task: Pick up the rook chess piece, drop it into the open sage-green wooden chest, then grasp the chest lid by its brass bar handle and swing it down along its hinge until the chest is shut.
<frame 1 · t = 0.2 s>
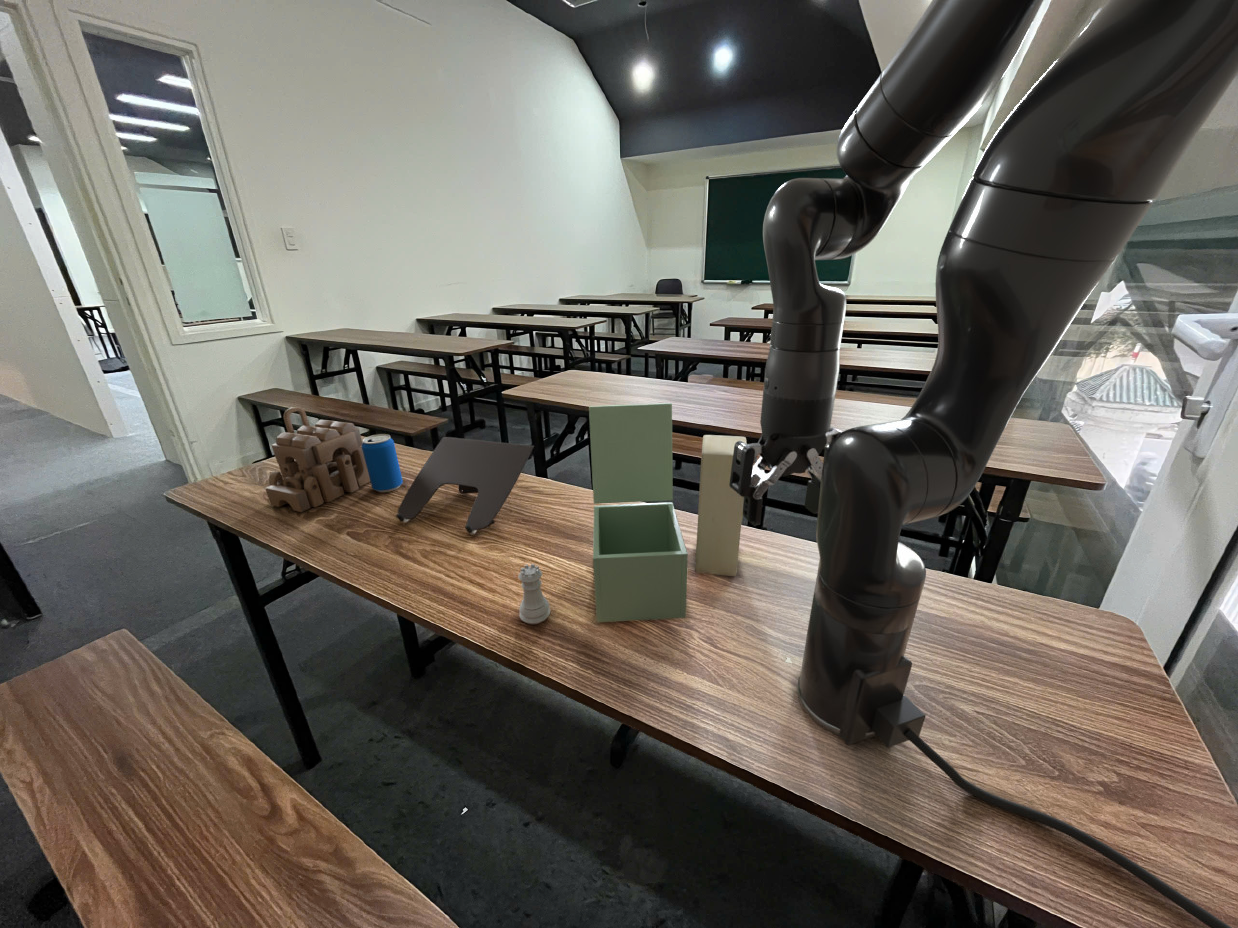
hand: (783, 516, 59), 17 cm above the table, tool pointing down, fingers open, 8 cm apart
rook chess piece: (535, 616, 69), on the table
wooden puzzle: (330, 487, 111), on the table
laptop tray: (466, 507, 100), on the table
beverage can: (388, 488, 110), on the table
toy refrigerator: (718, 562, 80), on the table
lid: (631, 451, 77), point 18 cm above the table, hinge at 100.0°
chest: (637, 587, 74), on the table
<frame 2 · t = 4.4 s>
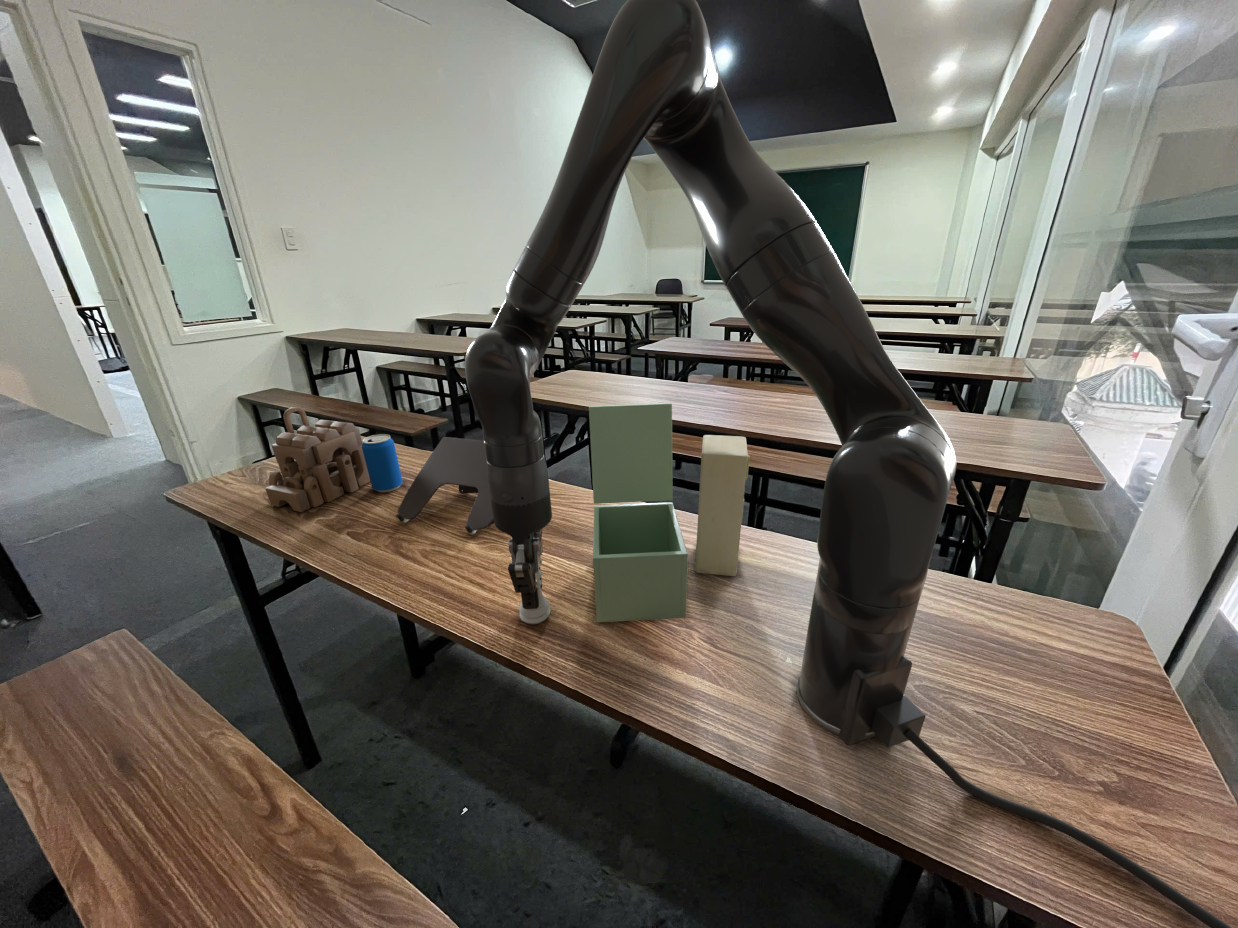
hand: (533, 597, 68), 3 cm above the table, tool pointing down, fingers closed on rook chess piece, 3 cm apart
rook chess piece: (535, 616, 69), on the table, touching gripper
everything else where it was.
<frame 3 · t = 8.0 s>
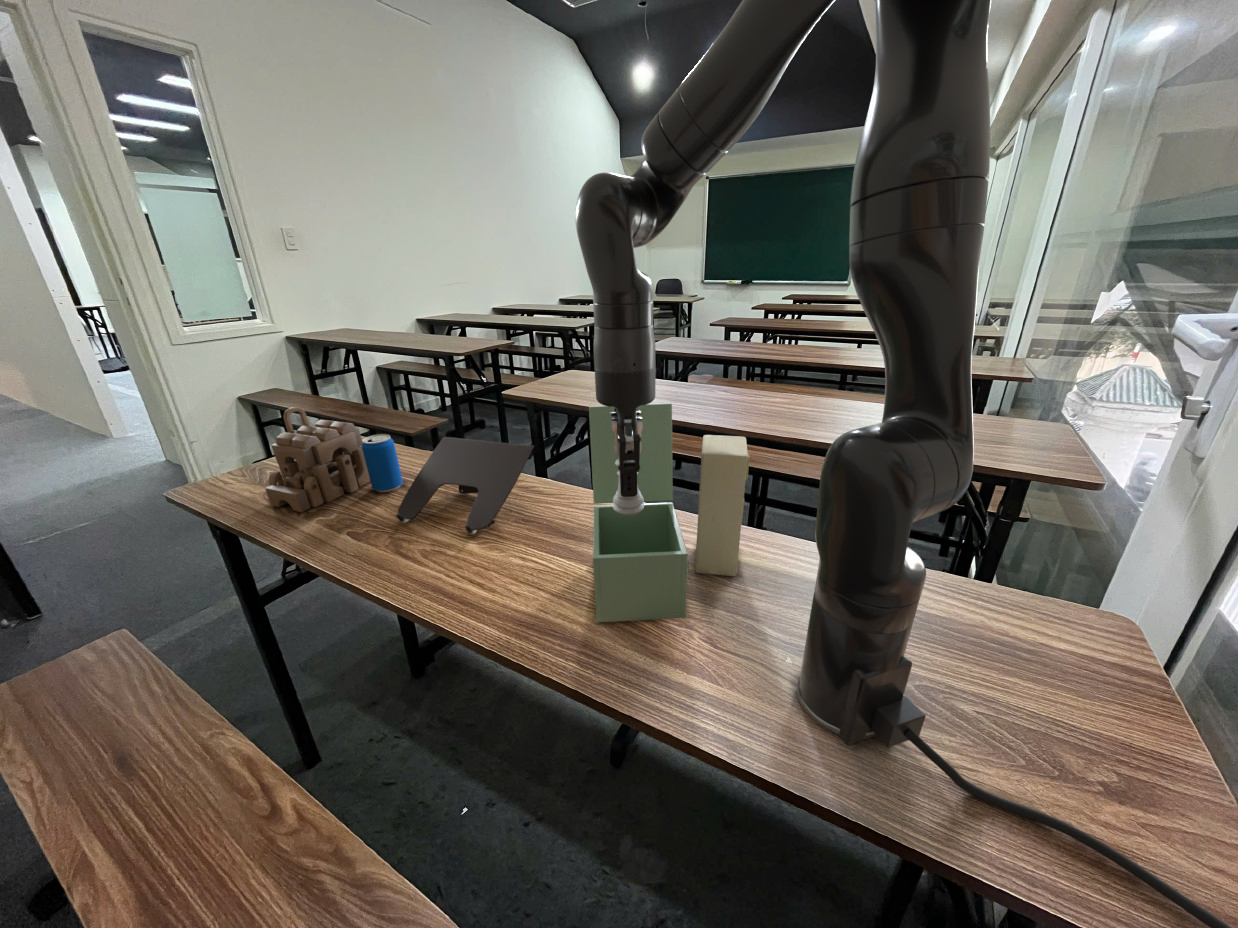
hand: (628, 488, 66), 18 cm above the table, tool pointing down, fingers closed on rook chess piece, 3 cm apart
rook chess piece: (628, 509, 67), point 15 cm above the table, touching gripper
everything else where it was.
when the fingers open (5 cm above the table, at t = 11.5 s): rook chess piece drops 1 cm, resting on chest.
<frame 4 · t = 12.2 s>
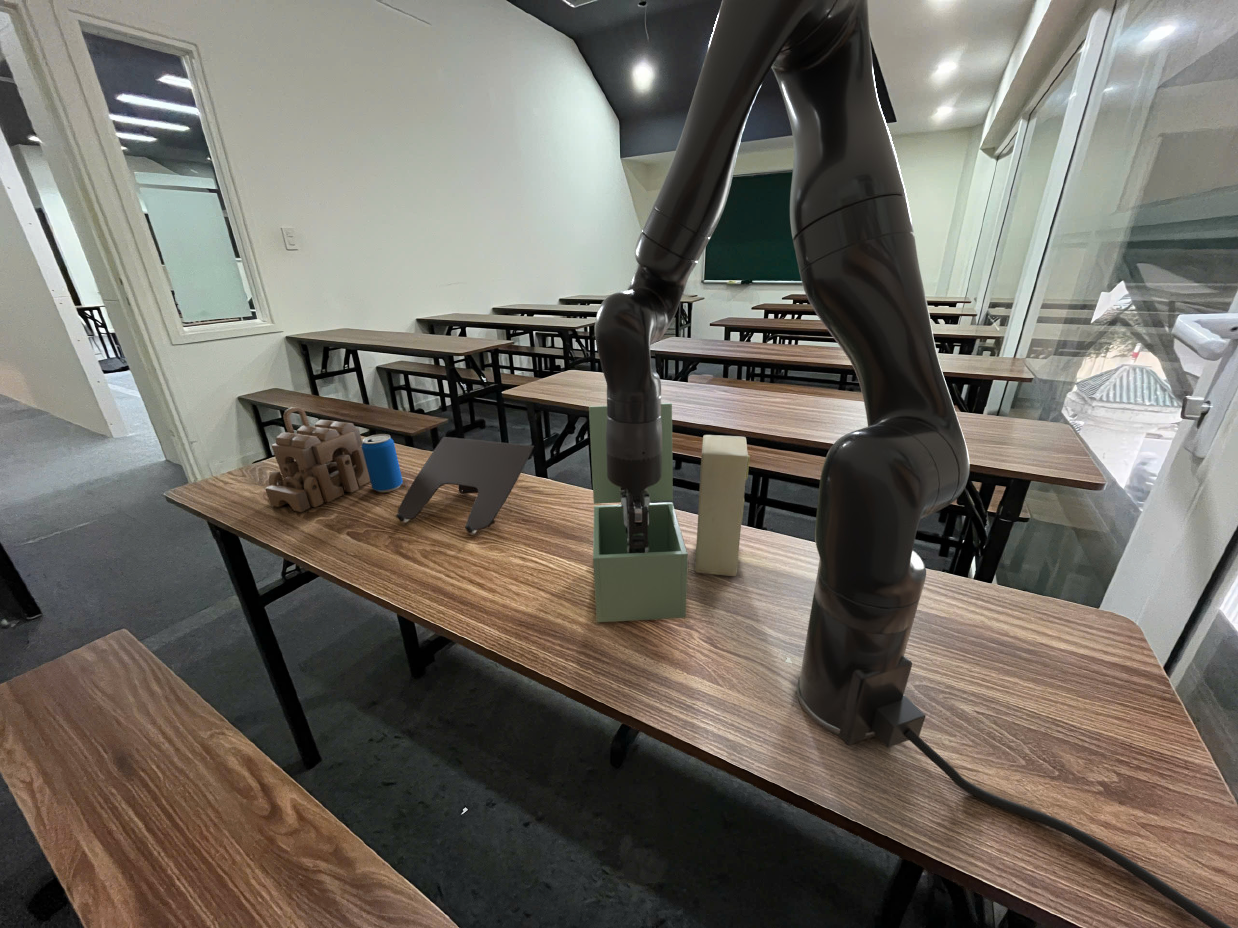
hand: (634, 547, 71), 7 cm above the table, tool pointing down, fingers open, 8 cm apart
rook chess piece: (638, 588, 73), point 1 cm above the table, touching chest
everything else where it was.
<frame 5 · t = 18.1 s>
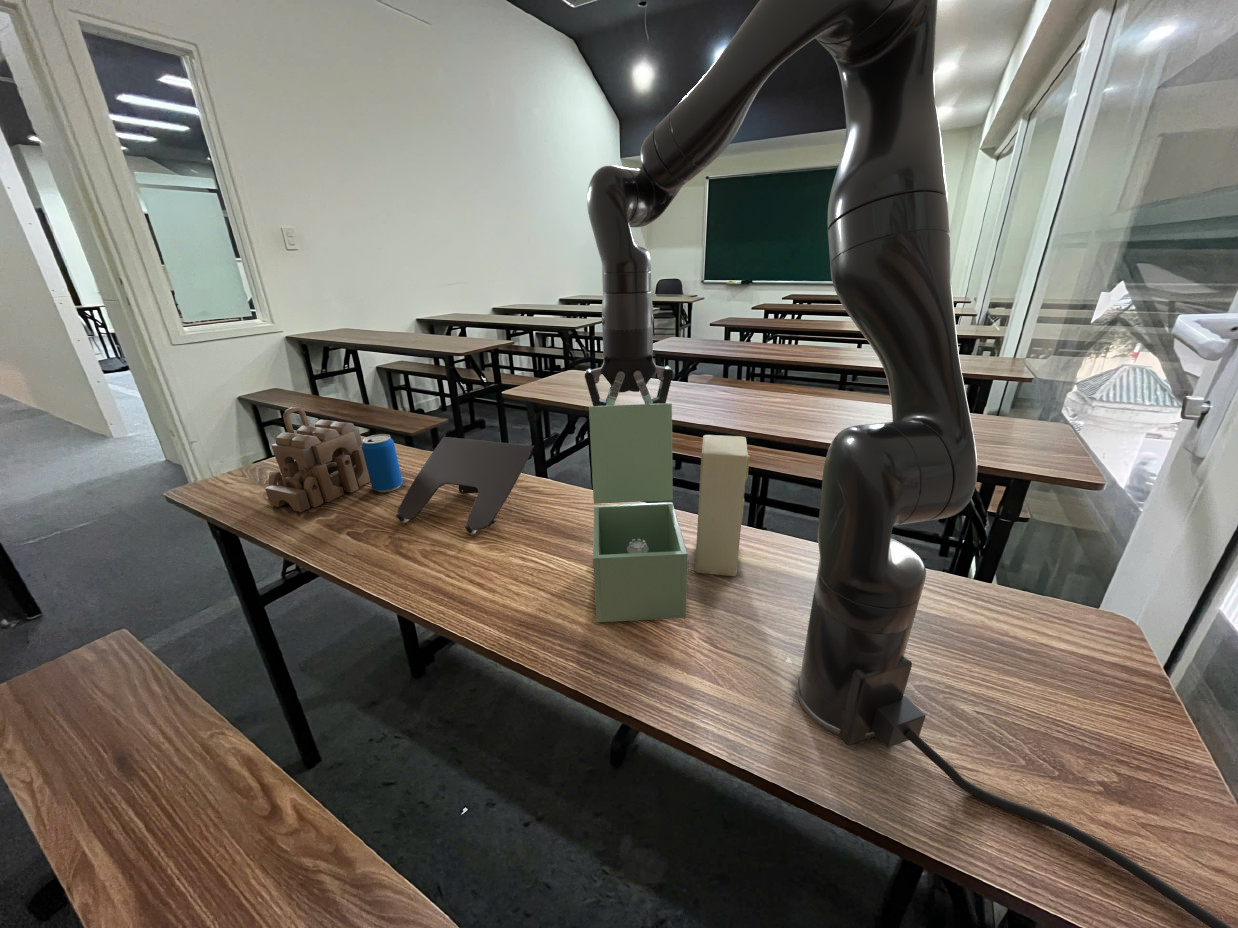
hand: (629, 431, 78), 21 cm above the table, tool pointing down, fingers closed on lid, 5 cm apart
lid: (631, 451, 77), point 18 cm above the table, hinge at 100.0°, touching gripper
everything else where it was.
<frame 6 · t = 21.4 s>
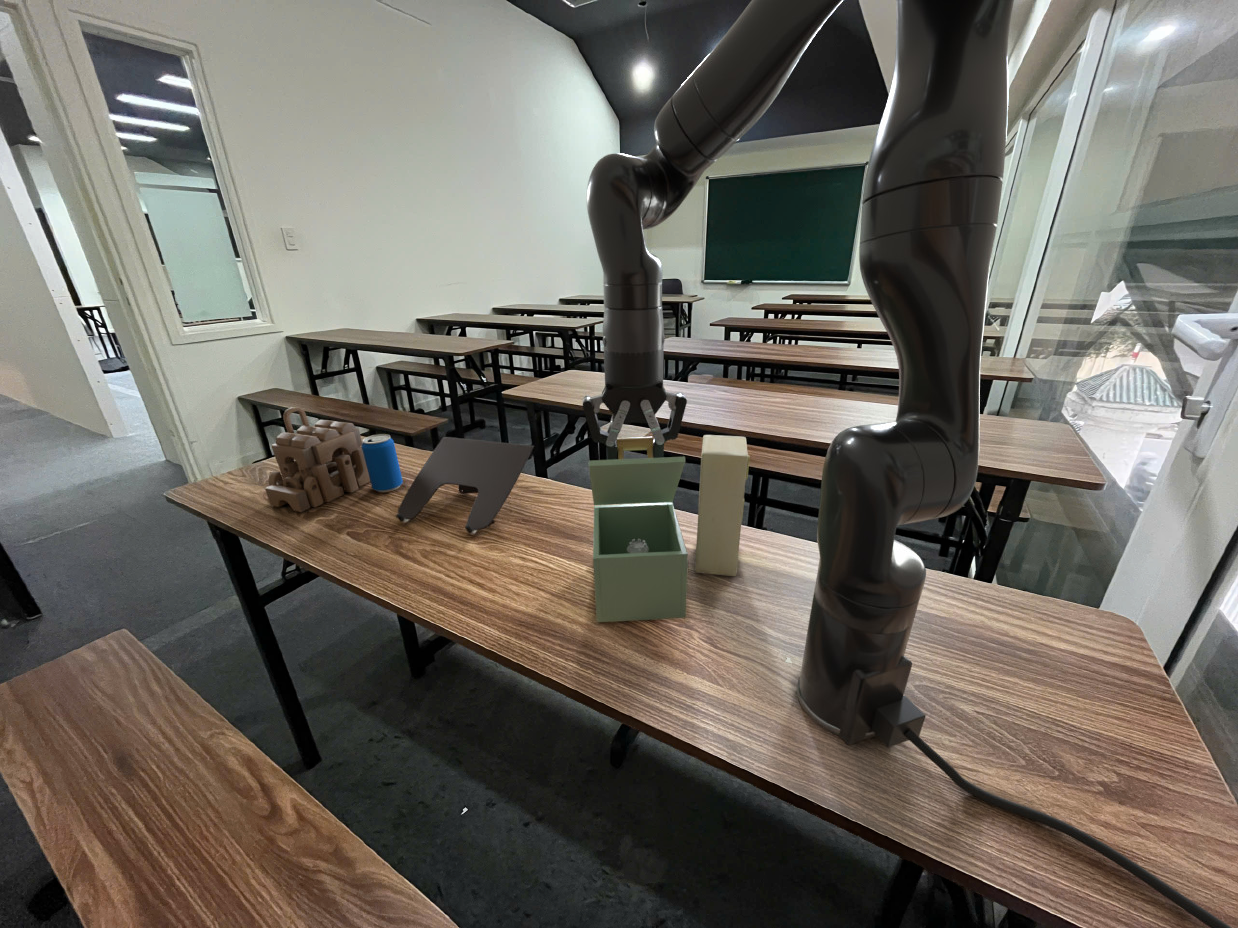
hand: (635, 467, 67), 20 cm above the table, tool pointing down, fingers closed on lid, 5 cm apart
lid: (634, 470, 70), point 18 cm above the table, hinge at 47.8°, touching gripper
everything else where it was.
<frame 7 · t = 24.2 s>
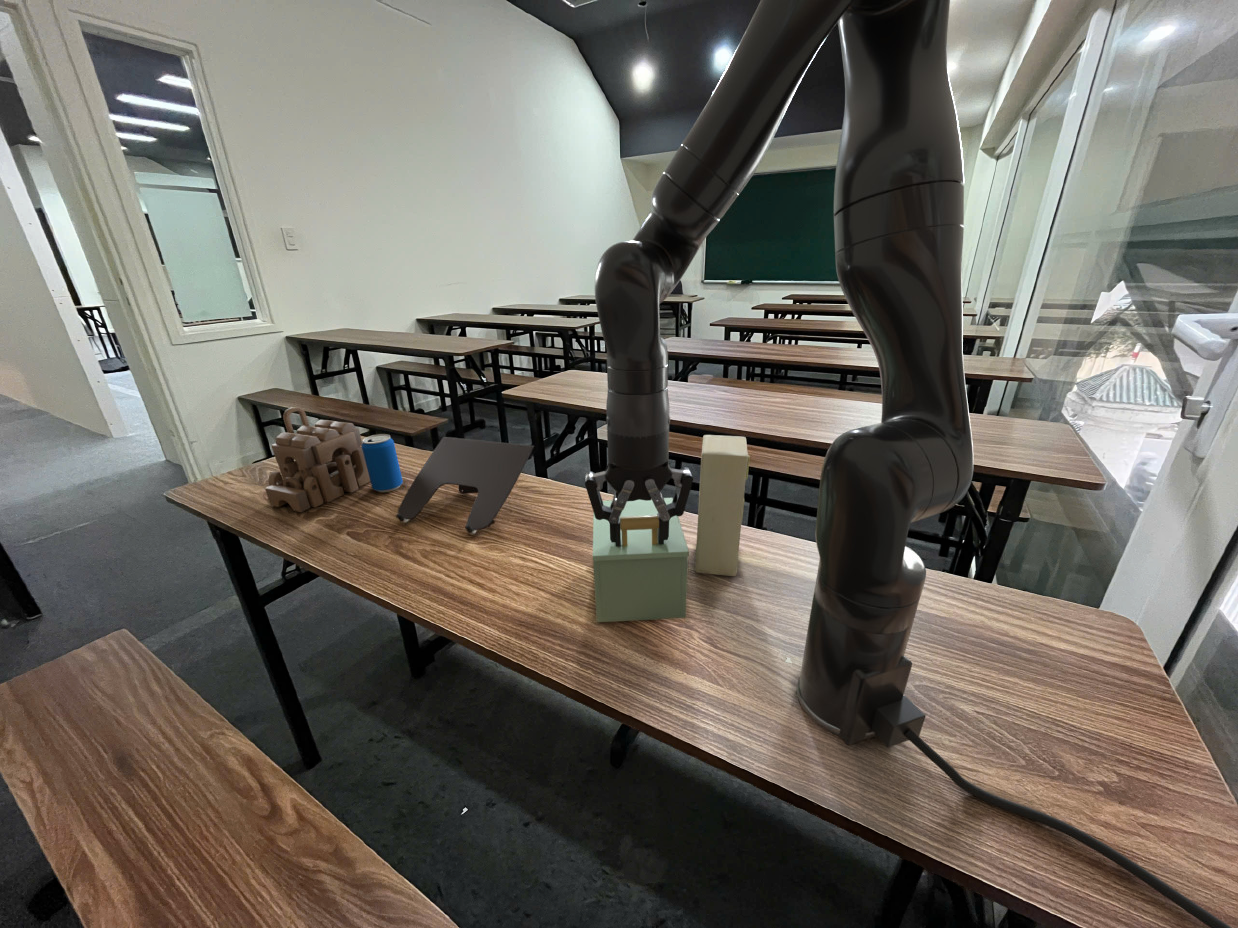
hand: (639, 541, 65), 12 cm above the table, tool pointing down, fingers closed on lid, 5 cm apart
lid: (636, 513, 68), point 13 cm above the table, hinge at 0.2°, touching gripper
everything else where it was.
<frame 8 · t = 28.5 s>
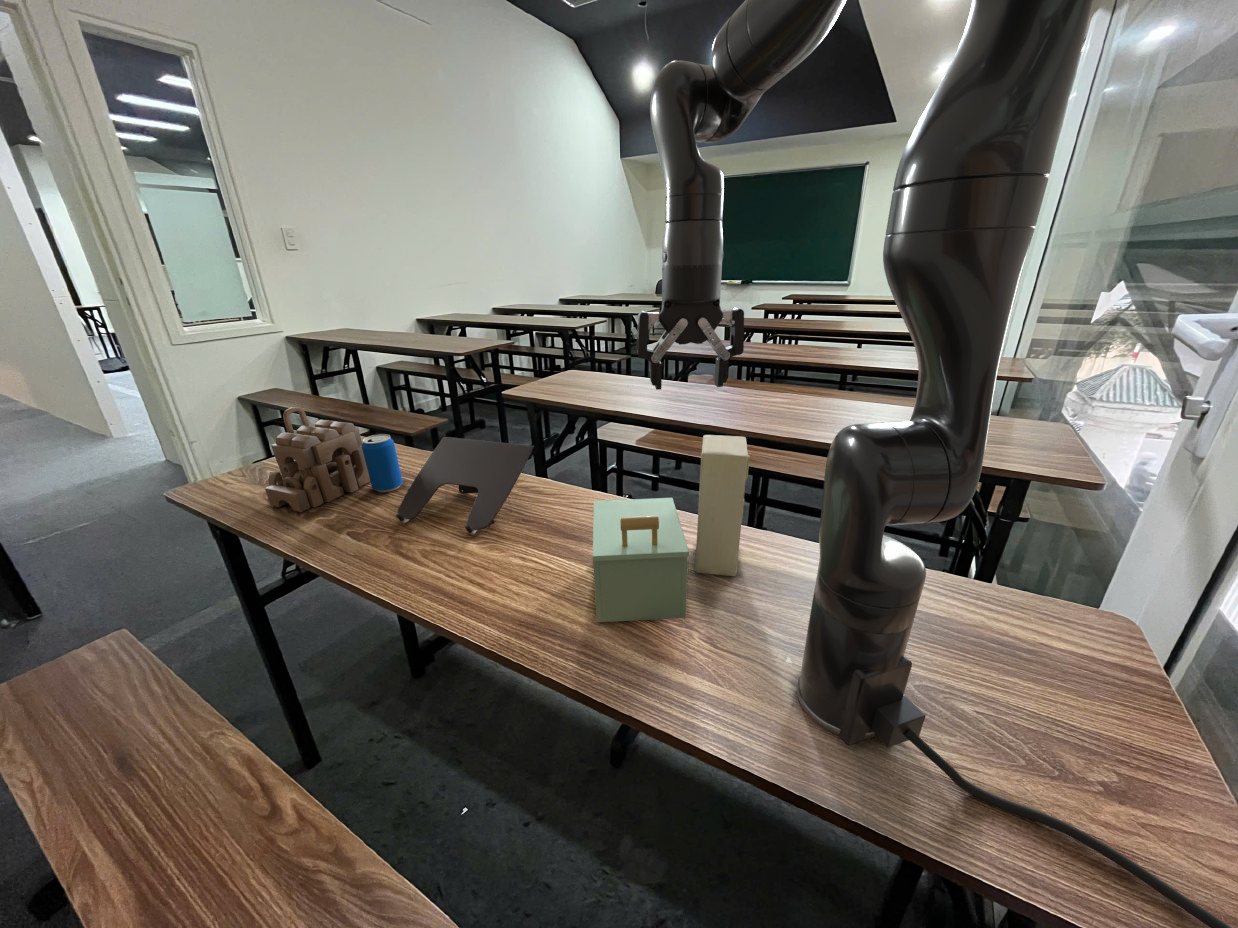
hand: (688, 387, 67), 30 cm above the table, tool pointing down, fingers open, 8 cm apart
lid: (636, 513, 68), point 13 cm above the table, hinge at 0.1°
everything else where it was.
at the end: rook chess piece inside the target area in the chest (1.1 cm from its centre), point 0.6 cm above the chest's base; lid at +0° (first picture: +100°) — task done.
